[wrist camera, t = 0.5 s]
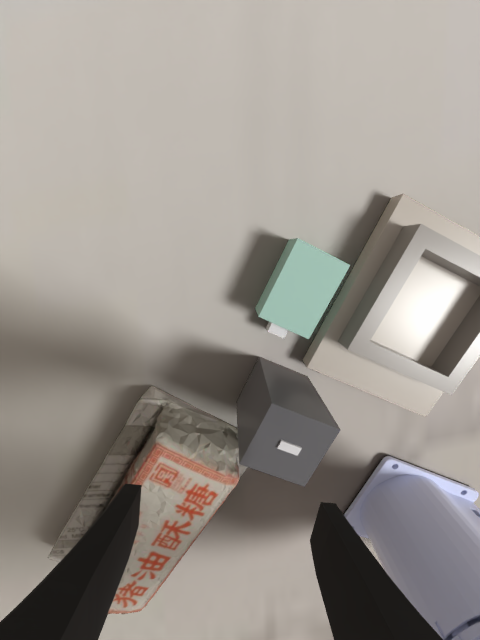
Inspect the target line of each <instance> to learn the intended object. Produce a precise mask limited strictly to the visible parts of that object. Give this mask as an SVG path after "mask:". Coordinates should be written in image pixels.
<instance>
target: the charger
mask: <svg viewBox="0 0 480 640" xmlns="http://www.w3.org/2000/svg"><path fill="white" fill-rule="evenodd" d="M237 424H238V448H239V464H240V465H243V466H246V467H249V468H252V469H255V470H258V471H261V472H264V473H266V474H269V475H272V476H275V477H278V478H281V479H284V480H287V481H290V482H292V483H295V484H298V485H301V486H304V487H305V485H306V484H307V482H308V481H309V479H310V477H311V476H312V474H313V473H314V471H315V469H316V468H317V466H318V465H319V463H320V462H321V460H322V458H323V457H324V455H325V454H326V452H327V450H328V449H329V447H330V446H331V444H332V442H333V441H334V439H335V438H336V436H337V434H338V433H339V431H340V428H339V427H338V425H337V423H336V422H335V420H334V419H333V417H332V415H331V414H330V412H329V410H328V409H327V407H326V406H325V404H324V402H323V401H322V399H321V397H320V396H319V394H318V392H317V391H316V389H315V388H314V386H313V384H312V383H311V381H310V379H309V378H308V376H305V375H303V374H300V373H298V372H296V371H293V370H291V369H288V368H286V367H283V366H281V365H279V364H276V363H274V362H271V361H269V360H266V359H264V358H262V357H259V358H258V360H257V362H256V364H255V366H254V368H253V370H252V372H251V374H250V376H249V378H248V380H247V382H246V384H245V386H244V388H243V390H242V392H241V394H240V396H239V398H238V400H237Z"/></svg>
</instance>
